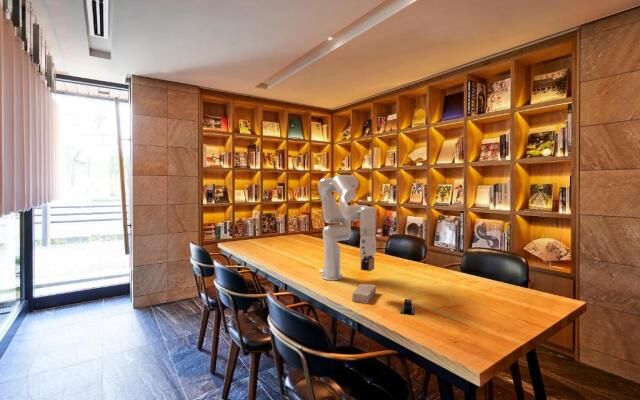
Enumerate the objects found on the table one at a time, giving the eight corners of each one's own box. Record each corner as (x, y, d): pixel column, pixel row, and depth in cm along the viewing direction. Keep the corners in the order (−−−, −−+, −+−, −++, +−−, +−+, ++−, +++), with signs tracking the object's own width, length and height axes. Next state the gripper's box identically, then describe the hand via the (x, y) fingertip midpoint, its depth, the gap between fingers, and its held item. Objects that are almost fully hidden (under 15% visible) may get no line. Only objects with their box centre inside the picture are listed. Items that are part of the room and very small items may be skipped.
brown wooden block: (360, 269, 161) (360, 257, 161) (364, 267, 165) (364, 255, 165) (370, 271, 158) (370, 259, 158) (374, 268, 163) (374, 257, 162)
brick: (368, 304, 154) (368, 294, 154) (351, 302, 157) (351, 292, 157) (376, 293, 169) (376, 284, 169) (360, 291, 172) (360, 283, 172)
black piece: (401, 305, 153) (401, 295, 153) (418, 307, 150) (418, 296, 150) (397, 316, 140) (397, 304, 140) (416, 318, 138) (416, 307, 138)
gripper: (367, 235, 151) (367, 273, 153) (381, 230, 166) (380, 265, 167) (353, 233, 155) (352, 271, 157) (367, 228, 170) (367, 263, 171)
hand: (367, 267), depth 162 cm, fingers closed on brown wooden block, 5 cm apart
